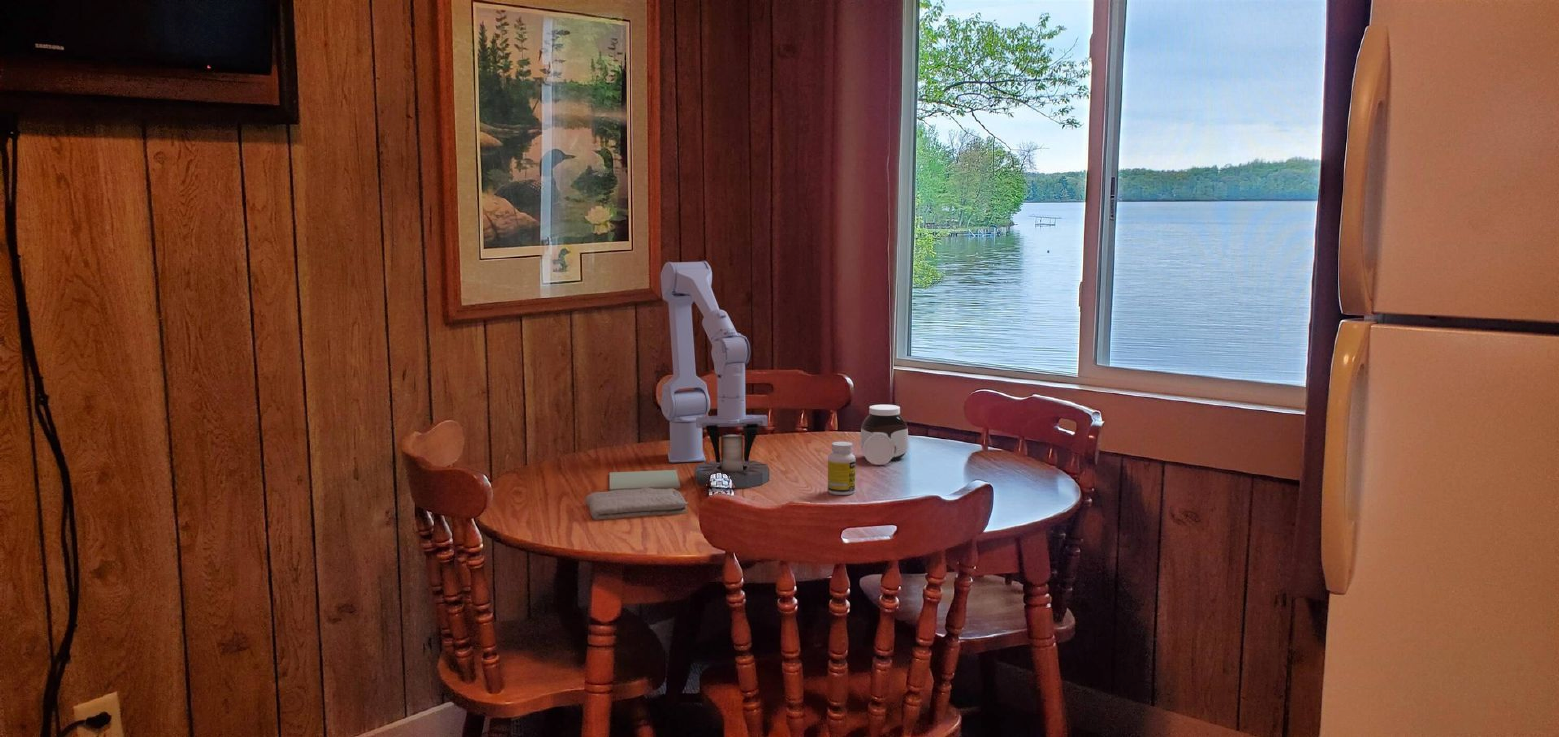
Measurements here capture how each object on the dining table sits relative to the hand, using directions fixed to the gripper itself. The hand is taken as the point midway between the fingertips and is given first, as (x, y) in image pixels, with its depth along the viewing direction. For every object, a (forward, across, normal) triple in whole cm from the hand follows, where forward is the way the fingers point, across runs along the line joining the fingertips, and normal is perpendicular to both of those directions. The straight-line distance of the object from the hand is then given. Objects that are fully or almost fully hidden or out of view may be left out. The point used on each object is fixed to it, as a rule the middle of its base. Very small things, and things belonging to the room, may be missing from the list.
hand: (732, 461), depth 223 cm
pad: (+4, -18, +2) cm, 19 cm away
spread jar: (+4, +35, +12) cm, 37 cm away
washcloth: (+5, -20, -19) cm, 28 cm away
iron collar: (+4, 0, 0) cm, 4 cm away
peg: (+4, 0, 0) cm, 4 cm away
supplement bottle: (+4, +20, -14) cm, 25 cm away
